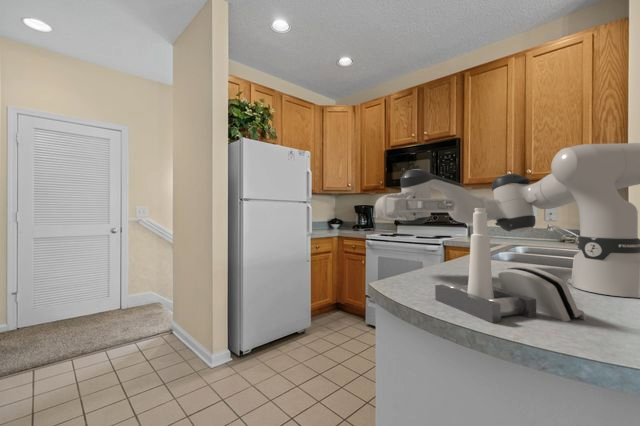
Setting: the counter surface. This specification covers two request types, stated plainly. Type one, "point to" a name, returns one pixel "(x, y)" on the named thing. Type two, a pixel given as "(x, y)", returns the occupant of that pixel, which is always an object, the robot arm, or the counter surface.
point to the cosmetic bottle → (480, 258)
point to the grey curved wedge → (541, 291)
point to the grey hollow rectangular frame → (486, 302)
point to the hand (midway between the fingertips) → (438, 204)
